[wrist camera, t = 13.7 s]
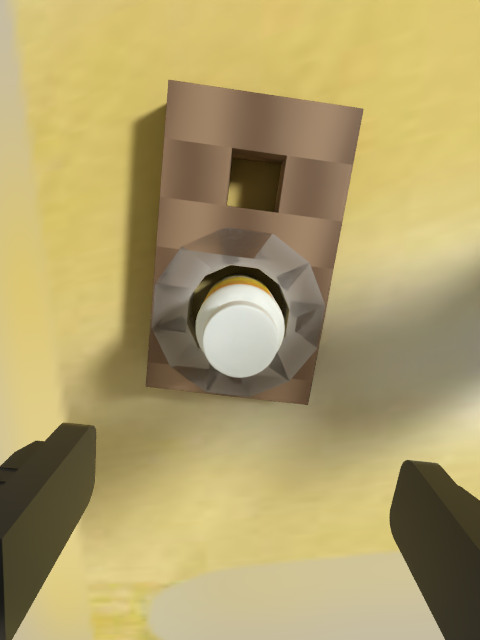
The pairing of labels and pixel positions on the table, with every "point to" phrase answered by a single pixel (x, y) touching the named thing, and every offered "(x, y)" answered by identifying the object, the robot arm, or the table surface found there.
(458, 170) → the table surface
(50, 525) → the robot arm
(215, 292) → the supplement bottle
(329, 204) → the bore block
